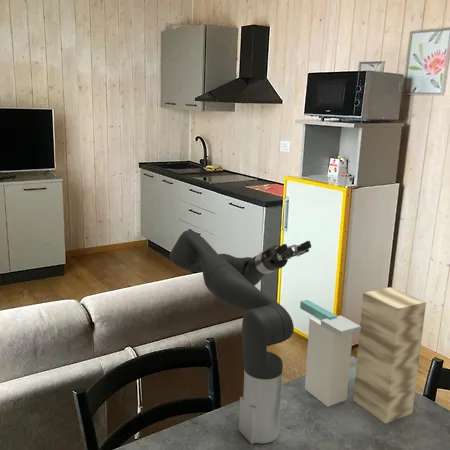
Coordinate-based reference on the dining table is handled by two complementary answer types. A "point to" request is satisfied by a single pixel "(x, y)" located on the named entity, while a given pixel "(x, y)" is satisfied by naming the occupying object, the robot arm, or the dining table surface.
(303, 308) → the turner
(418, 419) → the dining table surface
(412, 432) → the dining table surface
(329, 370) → the white block
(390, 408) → the tall wooden block
